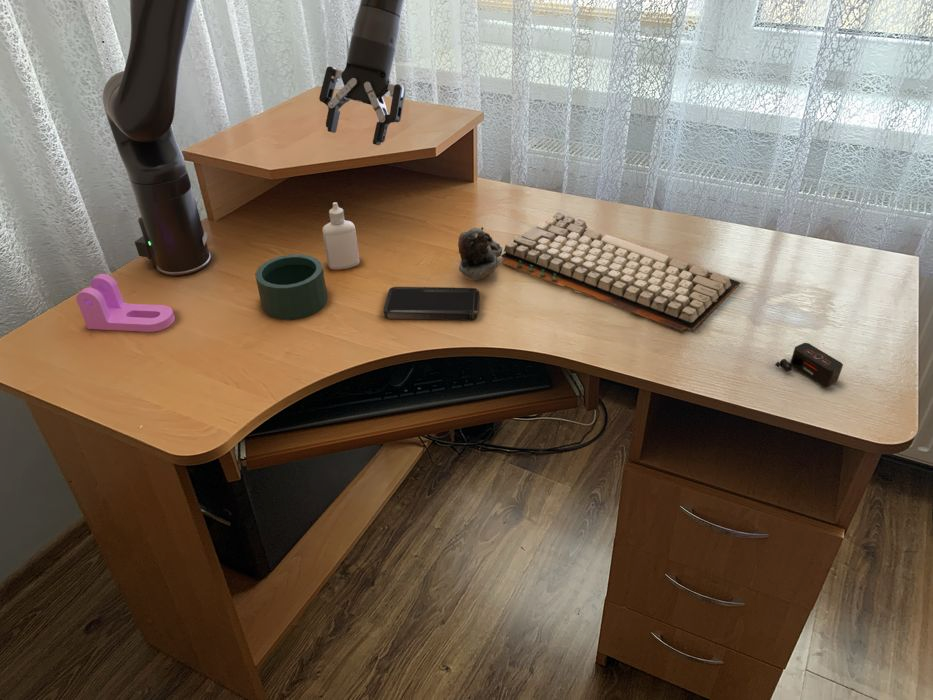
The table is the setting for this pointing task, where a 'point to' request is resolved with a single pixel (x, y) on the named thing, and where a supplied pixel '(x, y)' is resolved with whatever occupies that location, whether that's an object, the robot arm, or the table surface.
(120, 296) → the bracket
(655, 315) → the mechanical keyboard
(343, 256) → the eye dropper bottle
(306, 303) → the green short hollow cylinder
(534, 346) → the table surface
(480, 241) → the bison figurine
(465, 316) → the phone
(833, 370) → the wireless earbuds
